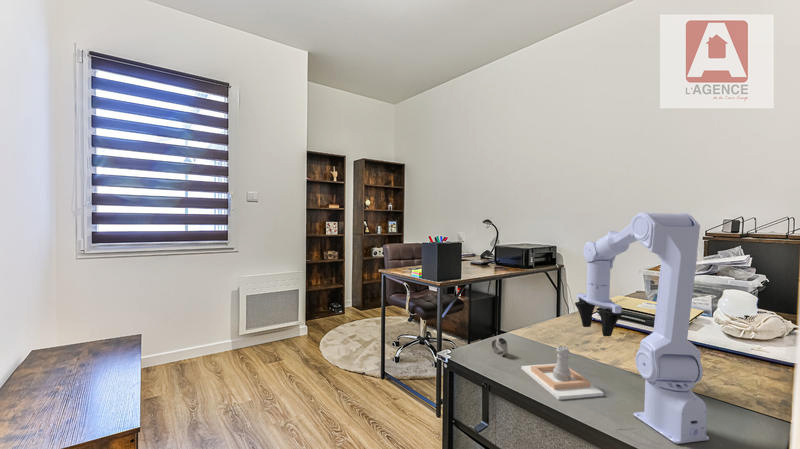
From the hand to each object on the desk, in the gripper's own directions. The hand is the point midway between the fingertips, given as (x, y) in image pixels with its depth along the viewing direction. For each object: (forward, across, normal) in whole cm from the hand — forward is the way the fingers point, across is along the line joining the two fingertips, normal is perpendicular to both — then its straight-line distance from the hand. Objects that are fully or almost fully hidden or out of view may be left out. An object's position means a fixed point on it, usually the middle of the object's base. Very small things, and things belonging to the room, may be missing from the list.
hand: (596, 331), depth 95 cm
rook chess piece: (+10, -6, +15) cm, 19 cm away
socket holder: (+10, -6, +16) cm, 20 cm away
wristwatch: (+11, +13, +23) cm, 29 cm away
